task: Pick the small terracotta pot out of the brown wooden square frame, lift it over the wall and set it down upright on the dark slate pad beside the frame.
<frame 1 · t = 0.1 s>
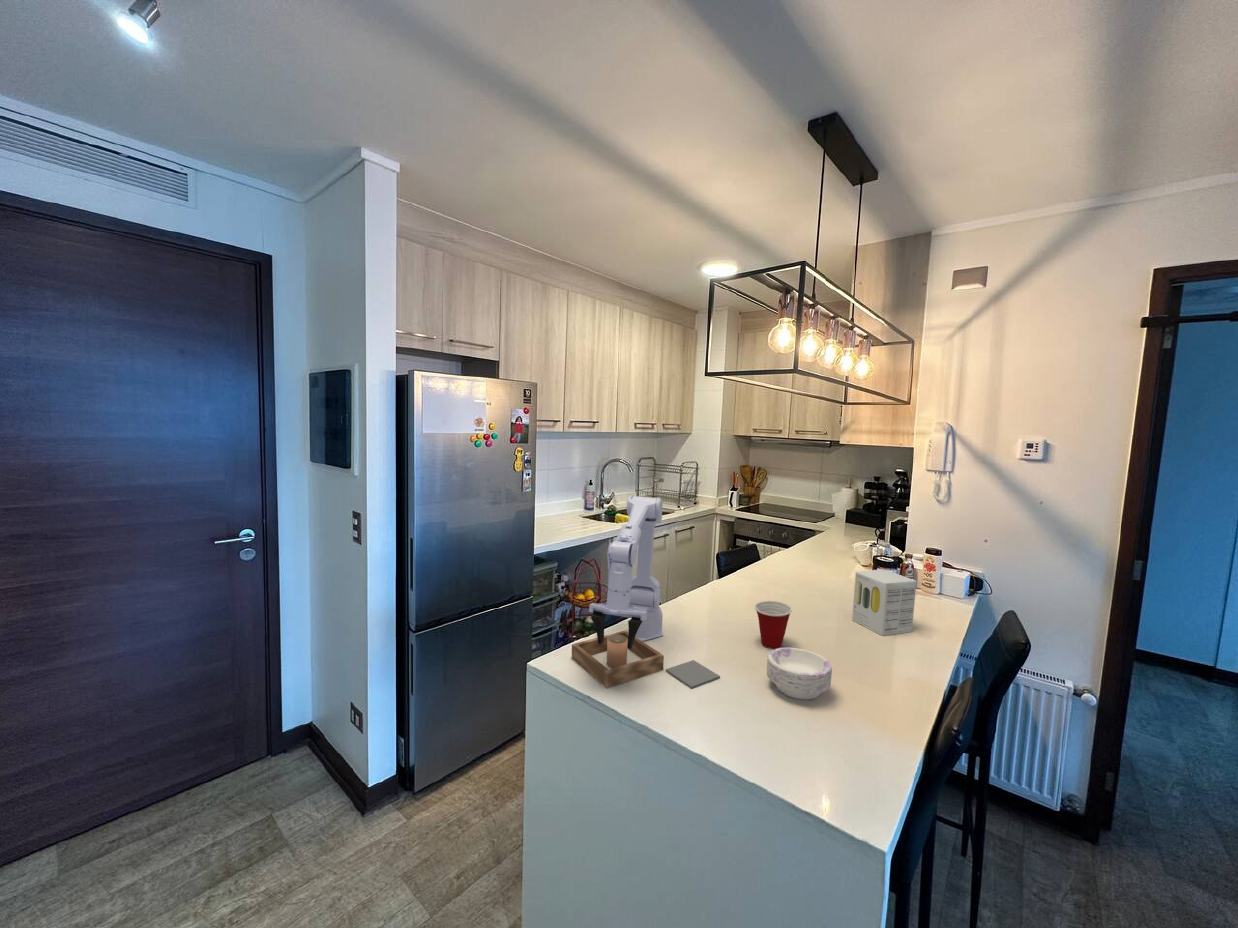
hand: (615, 645, 120), 10 cm above the worktop, tool pointing down, fingers open, 7 cm apart
paper bowls: (797, 690, 123), on the worktop
slate pad: (692, 674, 128), on the worktop
supplement box: (881, 626, 165), on the worktop
terracotta pot: (617, 651, 132), in the brown wooden square frame
brown wooden square frame: (616, 663, 132), on the worktop
plastic cup: (770, 645, 147), on the worktop
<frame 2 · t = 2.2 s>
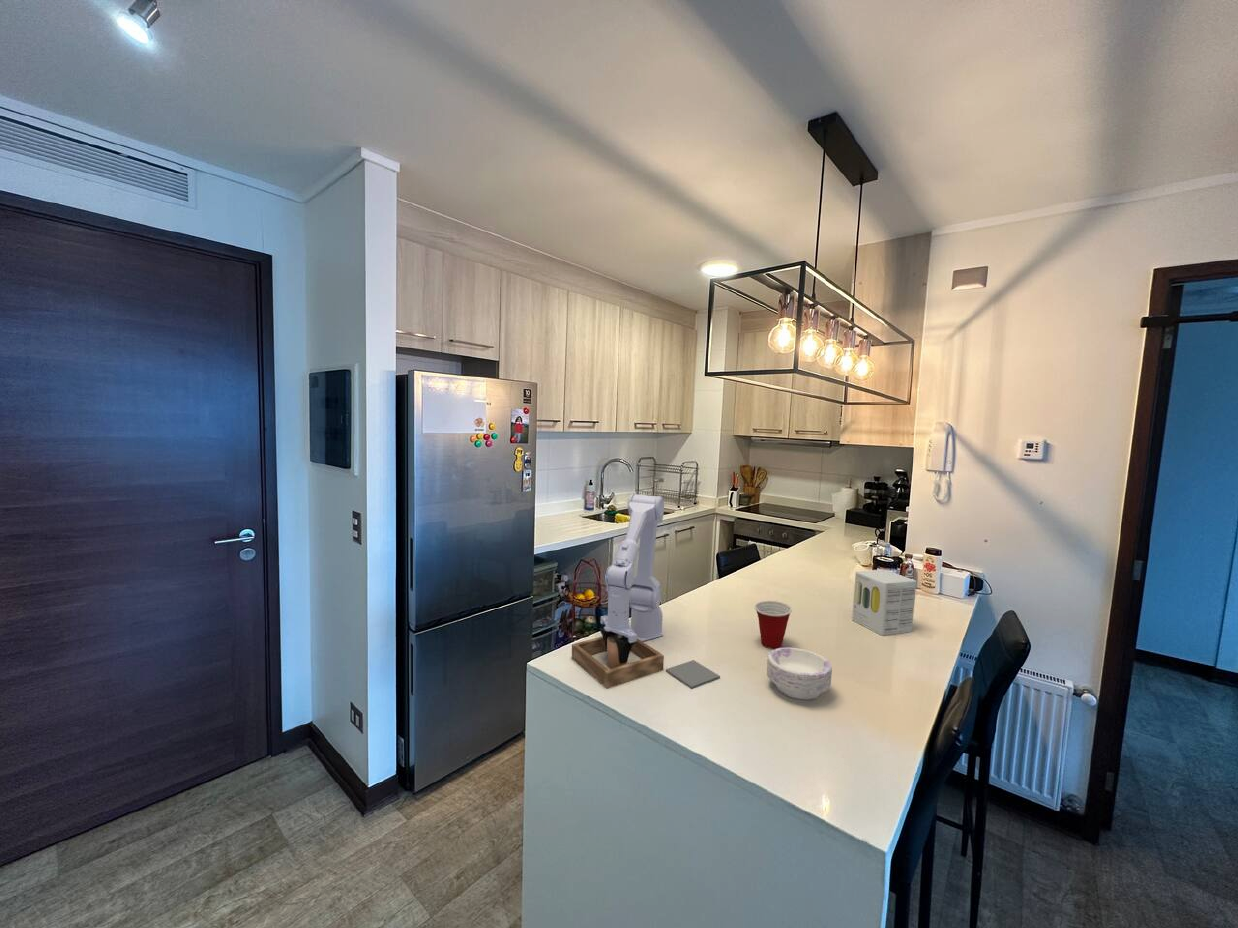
hand: (616, 657, 132), 2 cm above the worktop, tool pointing down, fingers closed on terracotta pot, 5 cm apart
terracotta pot: (617, 651, 132), in the brown wooden square frame, touching gripper
everything else where it was.
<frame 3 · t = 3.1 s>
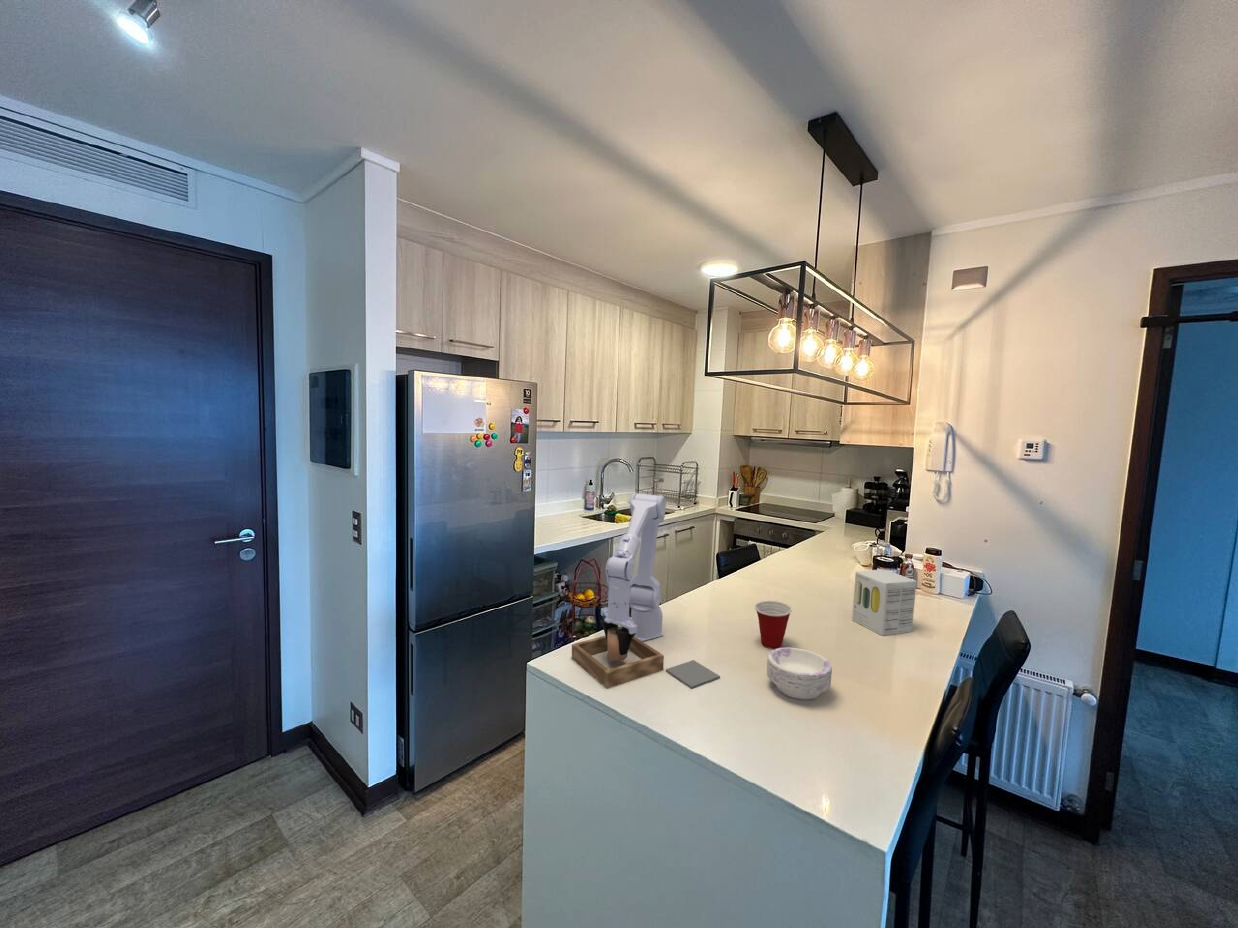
hand: (617, 649, 132), 4 cm above the worktop, tool pointing down, fingers closed on terracotta pot, 5 cm apart
terracotta pot: (617, 642, 132), point 6 cm above the worktop, touching gripper
everything else where it was.
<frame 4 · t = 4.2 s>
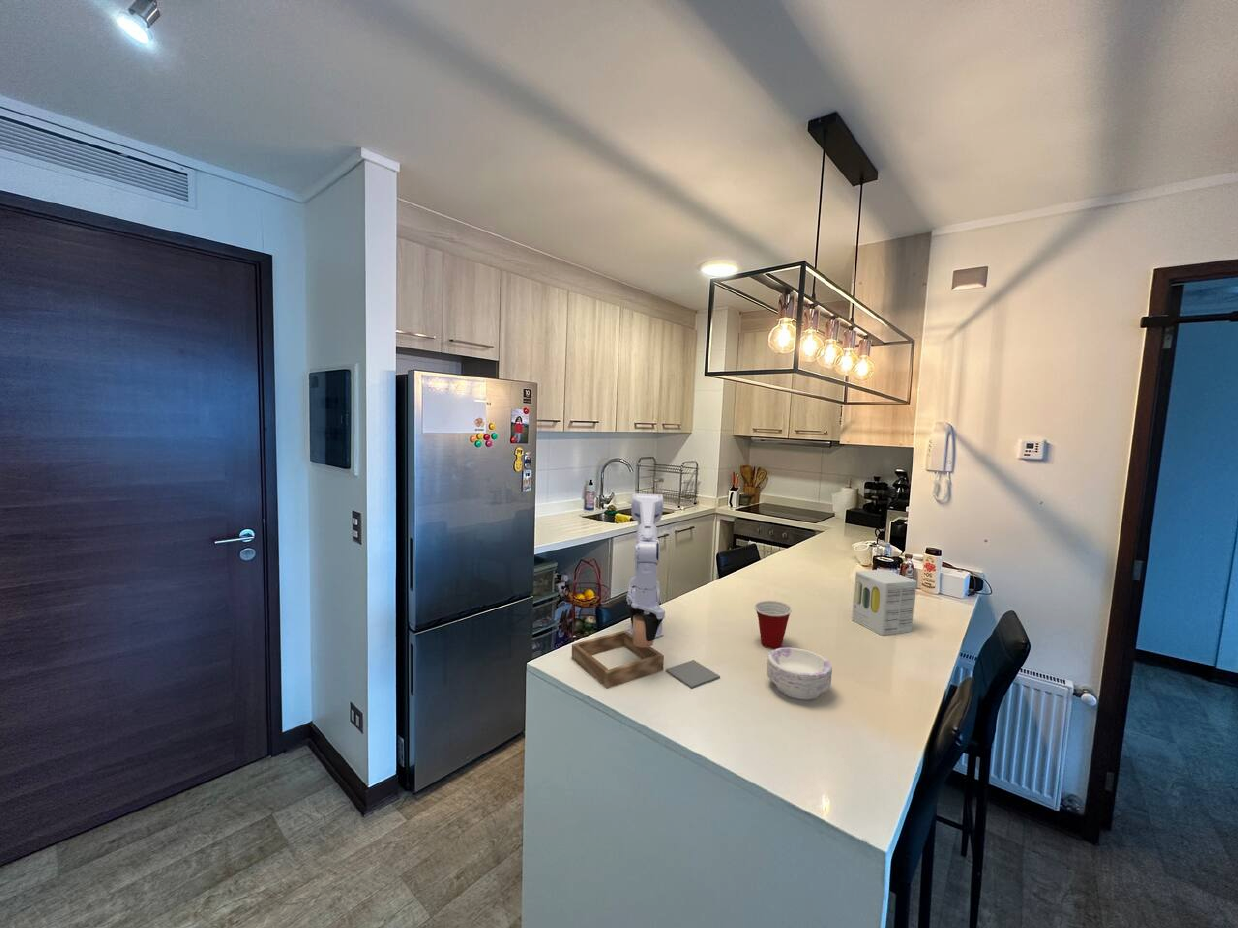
hand: (643, 635, 130), 9 cm above the worktop, tool pointing down, fingers closed on terracotta pot, 5 cm apart
terracotta pot: (643, 629, 130), point 11 cm above the worktop, touching gripper
everything else where it was.
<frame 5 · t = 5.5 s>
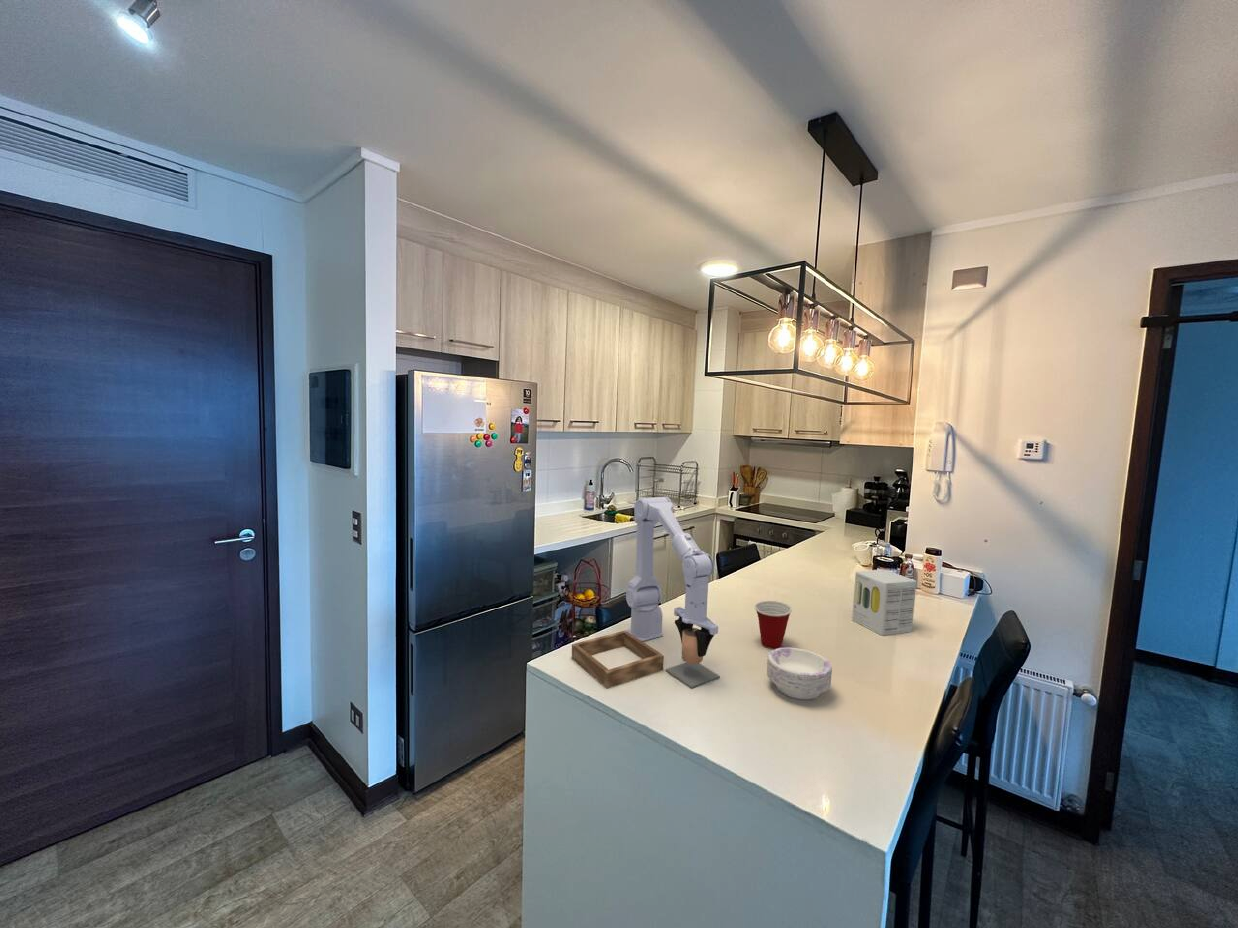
hand: (693, 650, 127), 7 cm above the worktop, tool pointing down, fingers closed on terracotta pot, 5 cm apart
terracotta pot: (692, 645, 127), point 8 cm above the worktop, touching gripper
everything else where it was.
when the fingers open (4 cm above the worktop, at t = 6.5 s): terracotta pot drops 1 cm, resting on slate pad.
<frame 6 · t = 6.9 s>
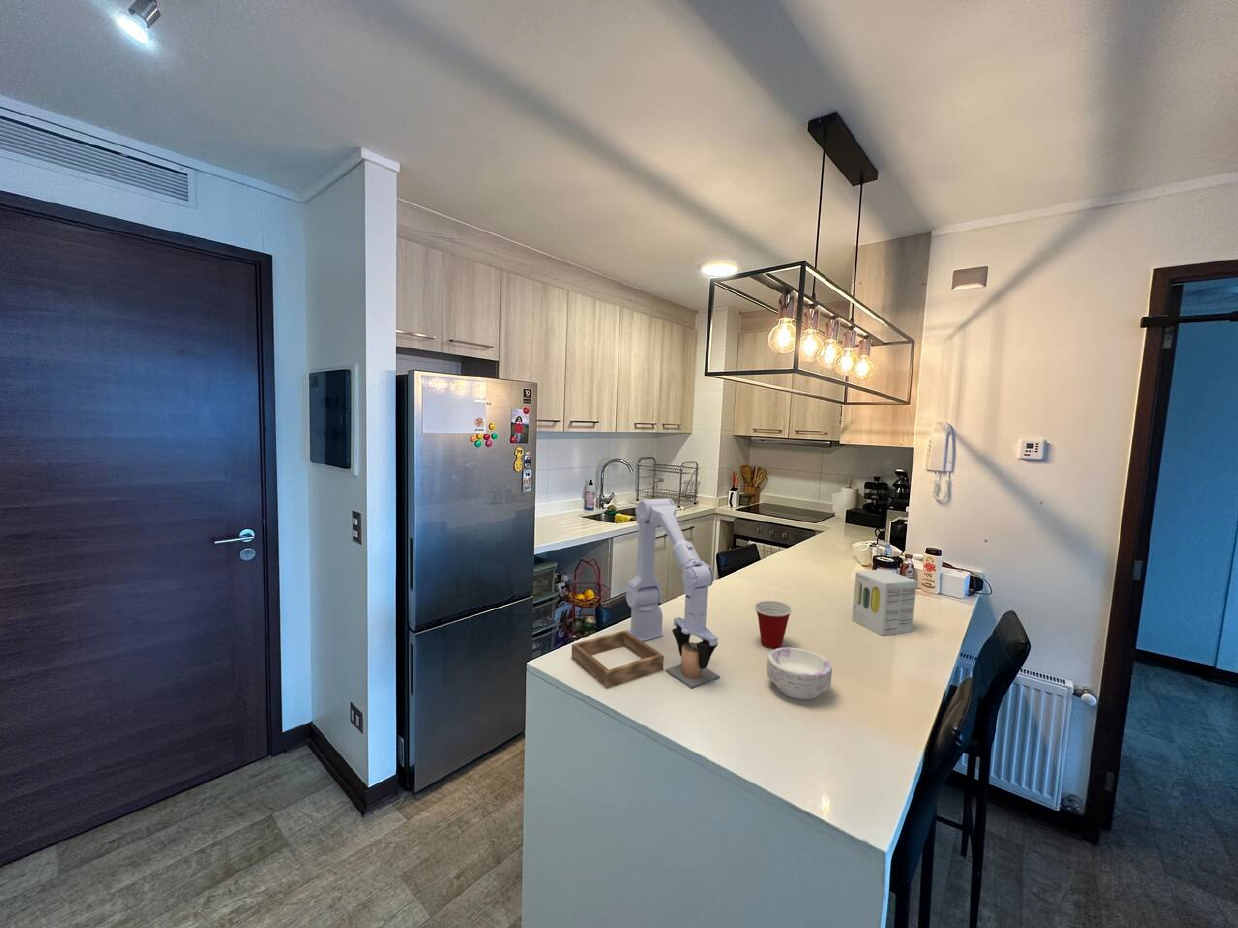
hand: (693, 661, 128), 4 cm above the worktop, tool pointing down, fingers open, 7 cm apart
terracotta pot: (692, 659, 127), on the slate pad, point 4 cm above the worktop
everything else where it was.
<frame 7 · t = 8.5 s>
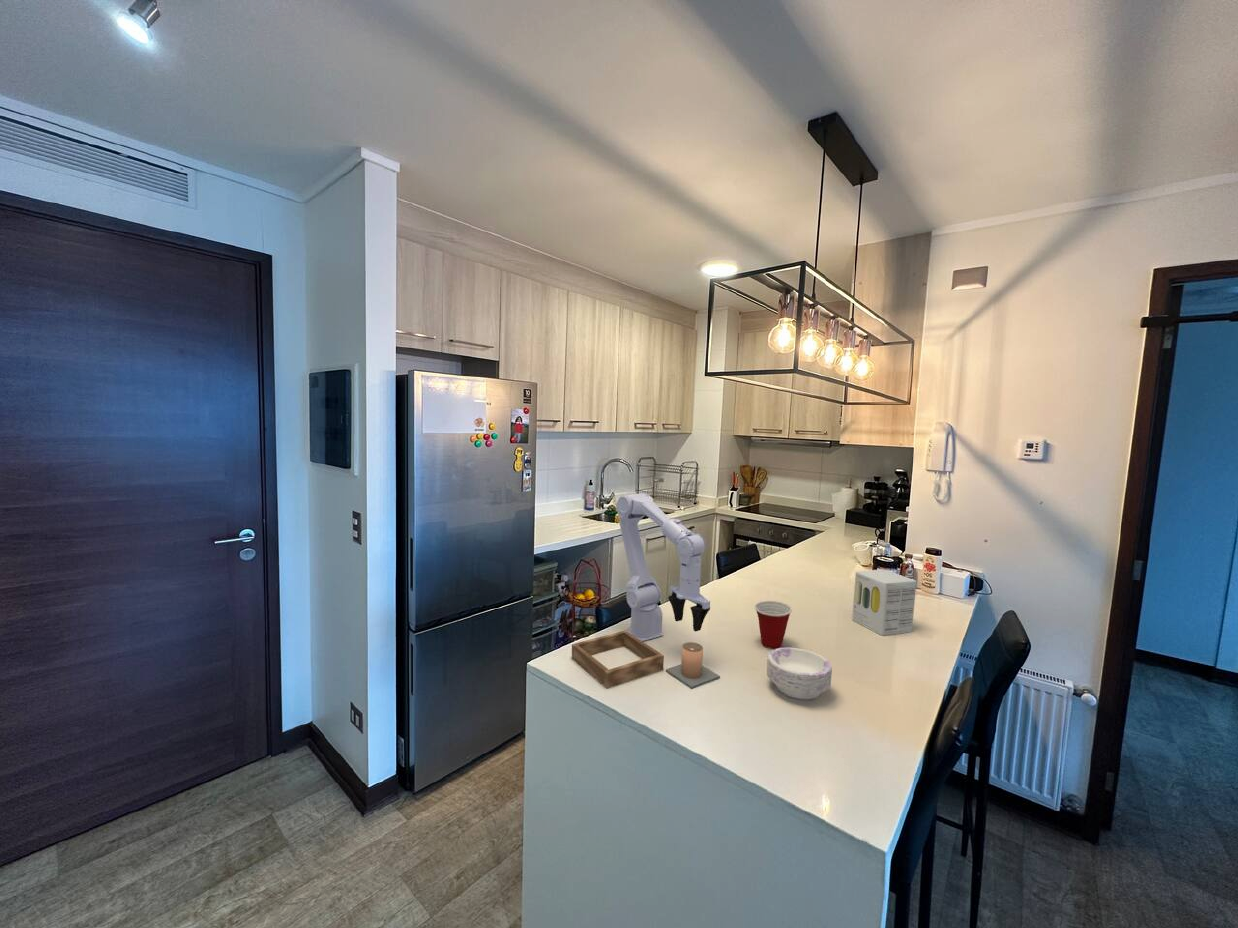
hand: (687, 625, 137), 9 cm above the worktop, tool pointing down, fingers open, 7 cm apart
nothing on the worktop moved.
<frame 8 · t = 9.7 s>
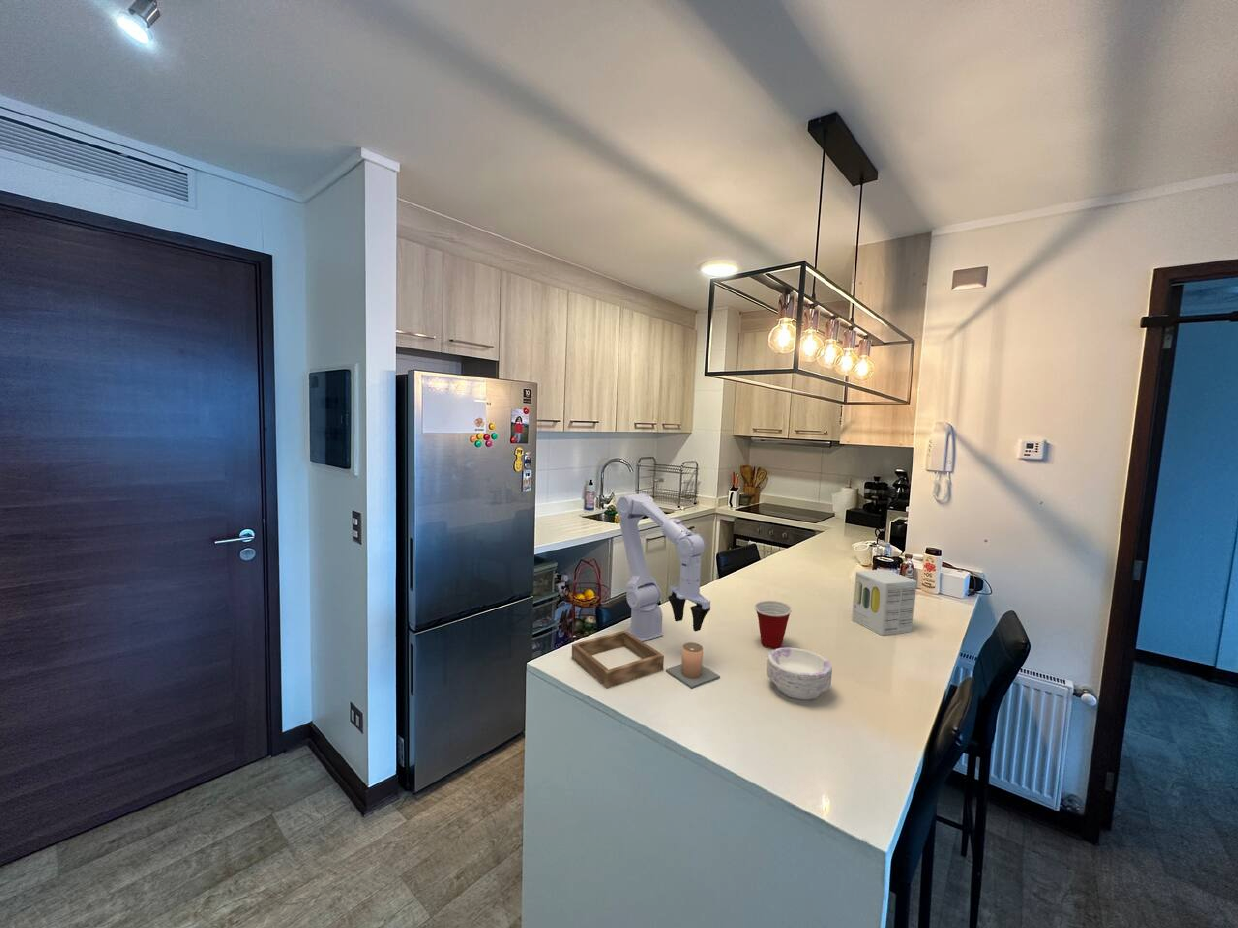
hand: (687, 625, 137), 9 cm above the worktop, tool pointing down, fingers open, 7 cm apart
nothing on the worktop moved.
at the end: terracotta pot inside the target area on the slate pad (0.4 cm from its centre), point 4.2 cm above the slate pad's base; terracotta pot tilted 0°; the gripper is holding nothing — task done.
